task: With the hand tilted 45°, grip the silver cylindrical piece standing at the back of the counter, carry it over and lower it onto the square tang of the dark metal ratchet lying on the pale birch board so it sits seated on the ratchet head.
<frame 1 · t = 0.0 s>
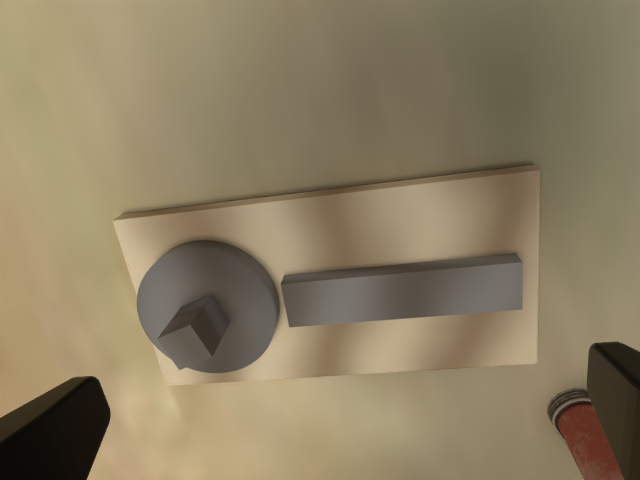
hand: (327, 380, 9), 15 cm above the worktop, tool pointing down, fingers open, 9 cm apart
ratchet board: (329, 283, 24), on the worktop
lighter: (603, 434, 26), on the worktop
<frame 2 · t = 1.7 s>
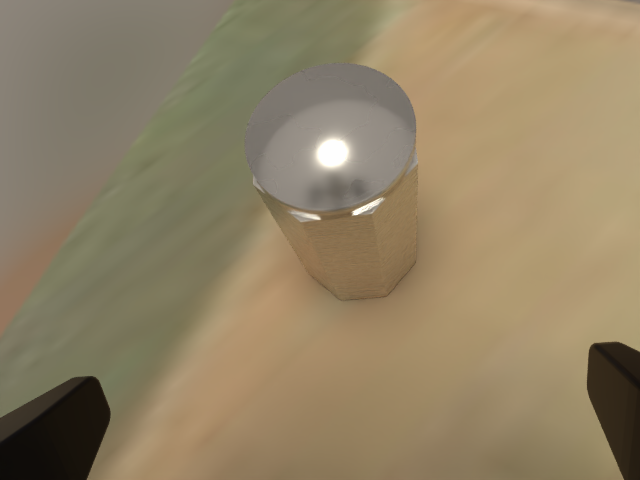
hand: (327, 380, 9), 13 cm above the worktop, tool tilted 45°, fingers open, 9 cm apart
silver cylindrical piece: (359, 247, 24), on the worktop
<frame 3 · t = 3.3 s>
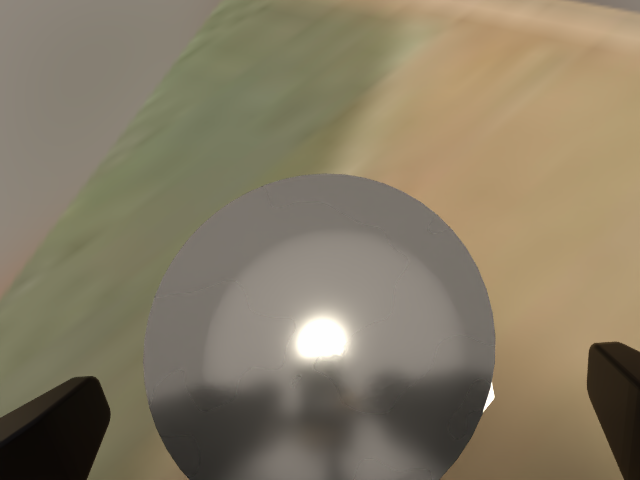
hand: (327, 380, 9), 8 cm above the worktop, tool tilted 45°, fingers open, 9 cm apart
silver cylindrical piece: (366, 392, 16), on the worktop
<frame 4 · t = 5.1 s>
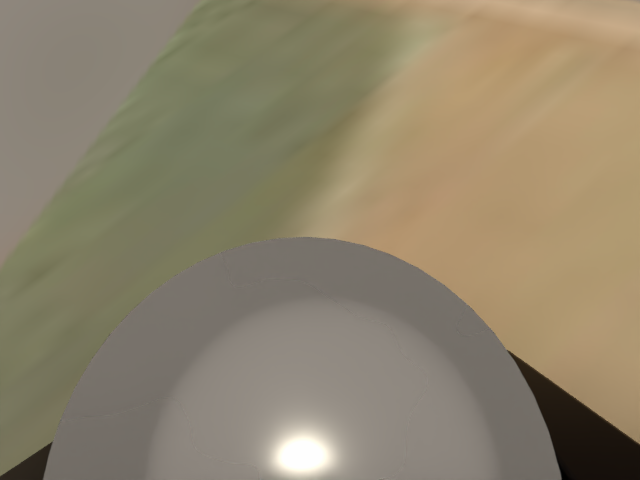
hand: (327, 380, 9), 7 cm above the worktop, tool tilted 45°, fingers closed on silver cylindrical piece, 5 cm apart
silver cylindrical piece: (365, 455, 14), on the worktop, touching gripper
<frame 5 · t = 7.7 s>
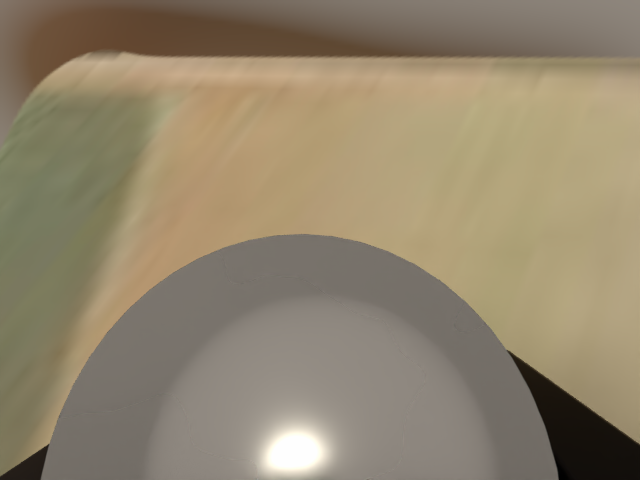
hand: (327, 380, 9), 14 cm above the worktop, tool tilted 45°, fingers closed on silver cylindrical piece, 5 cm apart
silver cylindrical piece: (364, 453, 14), point 7 cm above the worktop, touching gripper
when the fingers open (10 cm above the worktop, at t = 10.6 s): silver cylindrical piece stays where it is, resting on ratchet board.
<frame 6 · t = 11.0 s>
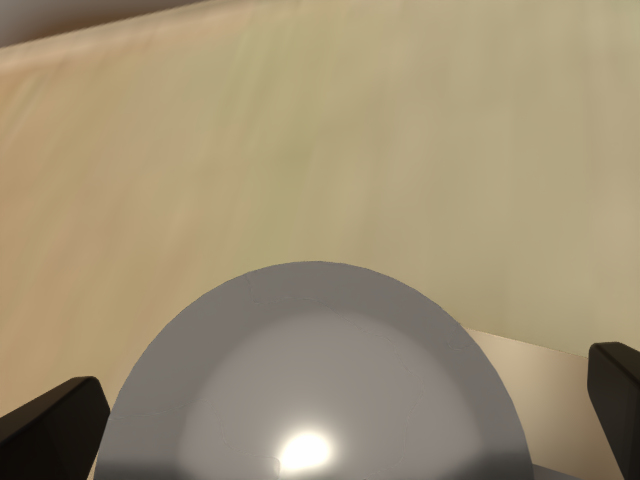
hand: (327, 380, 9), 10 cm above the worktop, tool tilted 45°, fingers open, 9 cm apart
silver cylindrical piece: (367, 452, 15), point 2 cm above the worktop, touching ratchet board
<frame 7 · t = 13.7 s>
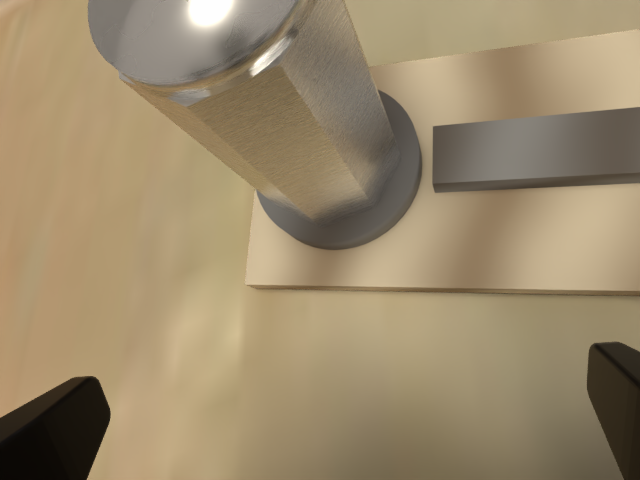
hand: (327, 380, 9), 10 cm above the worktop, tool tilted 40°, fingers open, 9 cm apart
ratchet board: (487, 171, 19), on the worktop
silver cylindrical piece: (330, 159, 19), point 2 cm above the worktop, touching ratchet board
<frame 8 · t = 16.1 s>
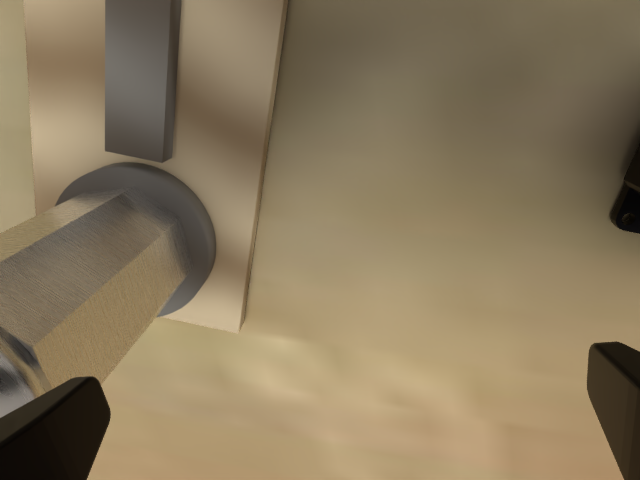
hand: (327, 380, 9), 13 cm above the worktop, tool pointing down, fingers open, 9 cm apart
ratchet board: (156, 101, 20), on the worktop
silver cylindrical piece: (128, 249, 20), point 2 cm above the worktop, touching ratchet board
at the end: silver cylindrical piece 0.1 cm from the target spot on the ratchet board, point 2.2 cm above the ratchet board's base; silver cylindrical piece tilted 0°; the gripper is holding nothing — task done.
